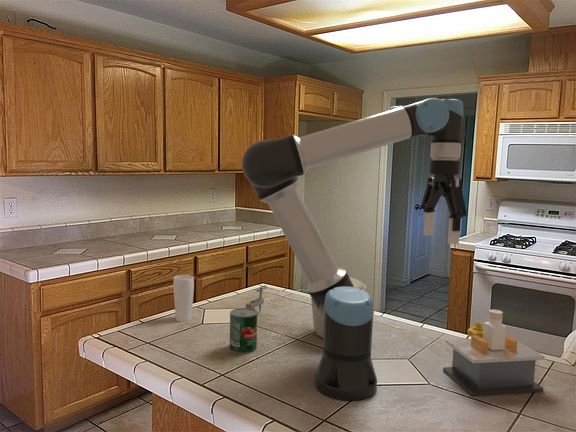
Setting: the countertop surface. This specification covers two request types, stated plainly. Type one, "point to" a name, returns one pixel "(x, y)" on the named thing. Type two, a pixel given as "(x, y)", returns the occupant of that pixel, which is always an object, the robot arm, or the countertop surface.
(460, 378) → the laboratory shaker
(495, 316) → the pepper shaker
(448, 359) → the countertop surface
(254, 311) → the canned tomato
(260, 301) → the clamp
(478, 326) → the pressure relief valve
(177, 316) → the drinking glass
